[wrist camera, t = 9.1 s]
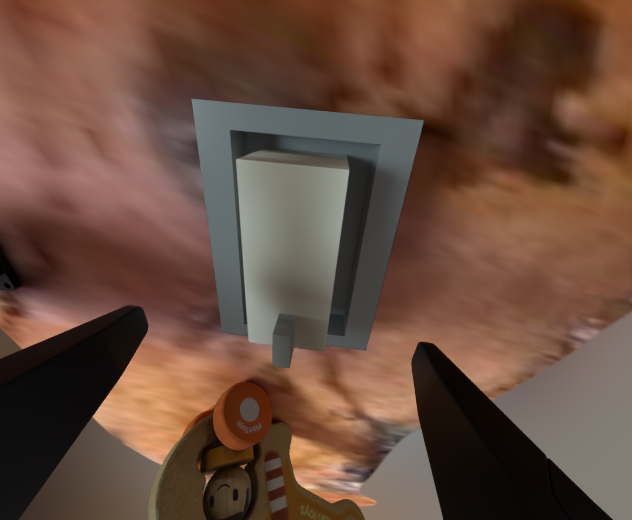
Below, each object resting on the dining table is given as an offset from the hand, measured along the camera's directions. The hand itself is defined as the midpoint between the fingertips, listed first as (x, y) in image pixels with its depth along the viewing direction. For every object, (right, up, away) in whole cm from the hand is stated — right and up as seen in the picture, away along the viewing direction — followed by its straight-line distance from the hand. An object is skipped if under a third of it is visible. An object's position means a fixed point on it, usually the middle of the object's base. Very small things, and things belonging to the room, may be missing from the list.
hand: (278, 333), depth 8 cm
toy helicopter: (-2, -15, +19) cm, 24 cm away
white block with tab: (0, +4, +7) cm, 8 cm away
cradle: (+1, +4, +8) cm, 9 cm away
